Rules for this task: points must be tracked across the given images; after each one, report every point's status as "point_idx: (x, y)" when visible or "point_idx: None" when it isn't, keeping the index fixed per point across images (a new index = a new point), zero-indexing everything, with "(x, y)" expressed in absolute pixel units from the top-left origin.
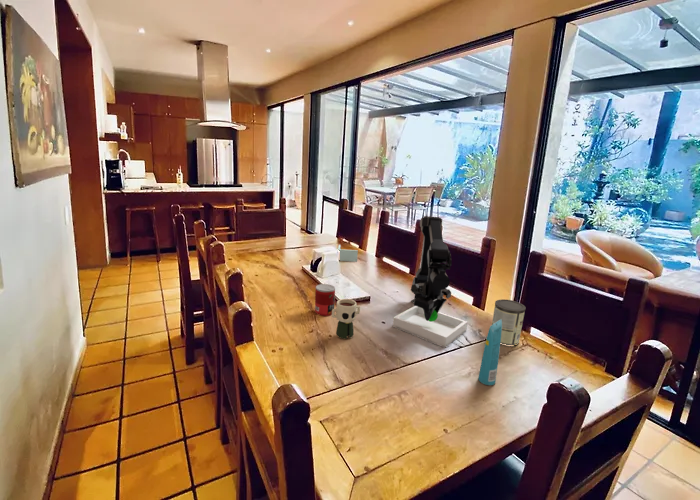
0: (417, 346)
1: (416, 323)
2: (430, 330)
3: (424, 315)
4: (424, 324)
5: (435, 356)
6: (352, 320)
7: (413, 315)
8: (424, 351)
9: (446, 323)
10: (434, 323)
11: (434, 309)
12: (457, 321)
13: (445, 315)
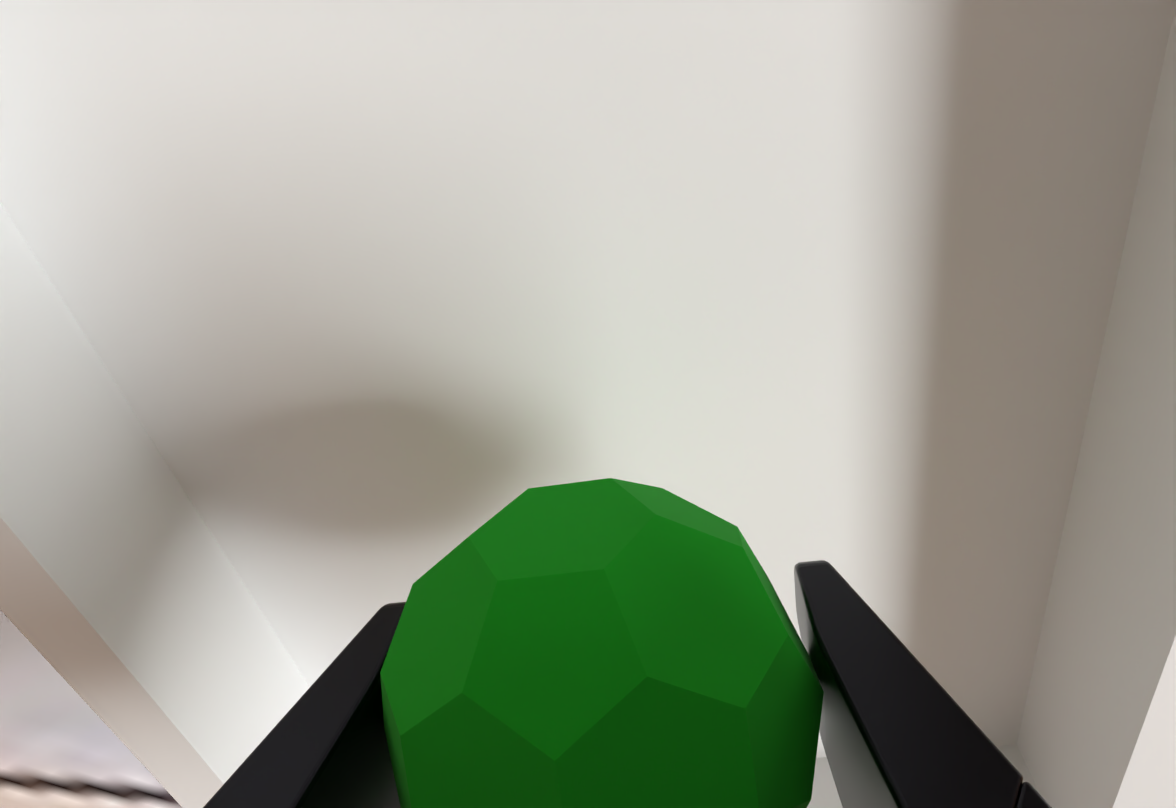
0: (4, 622)
1: (436, 181)
2: (204, 793)
3: (433, 571)
4: (582, 333)
5: (122, 798)
6: None
7: None
8: (44, 713)
9: (1038, 544)
10: (835, 421)
11: (867, 792)
12: (1081, 787)
13: (1170, 641)
